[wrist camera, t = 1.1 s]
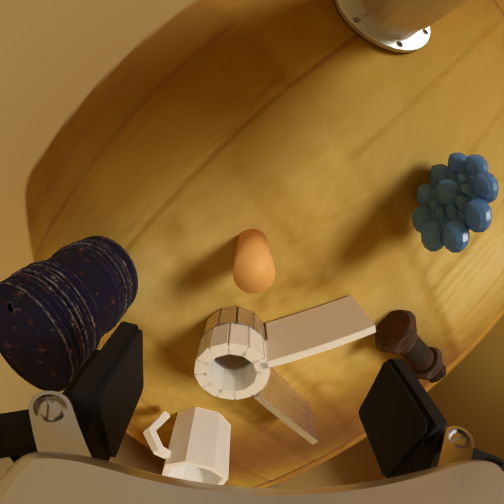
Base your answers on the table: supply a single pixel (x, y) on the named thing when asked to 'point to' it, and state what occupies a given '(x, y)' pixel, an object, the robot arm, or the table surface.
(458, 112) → the table surface
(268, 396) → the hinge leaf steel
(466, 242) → the grapes
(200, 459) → the mug
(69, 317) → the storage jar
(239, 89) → the table surface
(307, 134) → the table surface
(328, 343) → the hinge leaf cream
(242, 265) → the hinge pin
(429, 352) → the bolt
